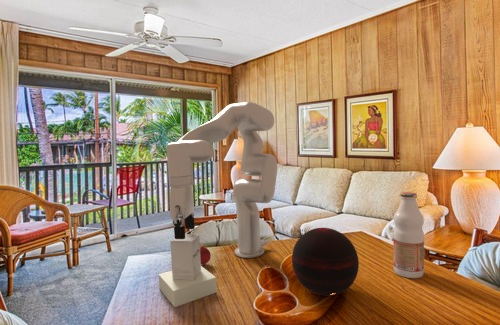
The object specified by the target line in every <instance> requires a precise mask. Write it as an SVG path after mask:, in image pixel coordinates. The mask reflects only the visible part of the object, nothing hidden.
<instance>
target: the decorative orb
mask: <svg viewBox="0 0 500 325" xmlns="http://www.w3.org/2000/svg"><path fill="white" fill-rule="evenodd" d="M294 244H295V245H294V246H293V250H292V254H291V265H292V270H293V272H294V275H295V277H296V279H297V280H298V281H299V283H300V284H301V285H302V286H303V287H304V288H305V289H307V290H308V291H309V292H311V293H314V294H316V295H319V296H325V297H329V295H330V294H332V293H336V294H337V295H339V294H342V293H344V292H345V291H347V290H348V289H349V288H350V287H351V286H352V285H353V283H354V282H355V280H356V278H357V277H358V274H359V265H360V263H359V256H358V252H357V250H356V248H355V246H354V244H353V243H352V241H350V239H349V238H348V237H347V236H346V235H345V234H343V233H342V232H341V231H338V230H336V229H334V228H330V227H317V228H313V229H310V230H308V231H306V232H305V233H303V234H302V235H301V236H300V237H299V239H297V240H296V242H295V243H294Z"/></svg>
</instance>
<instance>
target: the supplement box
mask: <svg viewBox="0 0 500 325" xmlns="http://www.w3.org/2000/svg"><path fill="white" fill-rule="evenodd" d="M200 239H201V238H200V234H199V233H198V234H197V233H185V239H175V237H174V238H173V239H172V240H170V259H171V271H172V279H178V280H194V279H195V277H196V276H197V274H198V273H199V272H200V271H201V266H202V264H201V259H200V248H201V242H200Z"/></svg>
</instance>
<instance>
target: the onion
mask: <svg viewBox="0 0 500 325" xmlns="http://www.w3.org/2000/svg"><path fill="white" fill-rule="evenodd" d="M211 258H212V256H211V251H210V250H209V249H208V248H207V247H206V246H204V245H203V244H200V259H201V266H205V265H206V264H207V263H209V262H210V260H211Z"/></svg>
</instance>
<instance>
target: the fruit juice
mask: <svg viewBox="0 0 500 325" xmlns="http://www.w3.org/2000/svg"><path fill="white" fill-rule="evenodd" d="M399 196H400V198H401V200H400V203H399V205H398V208H397V209H396V211H395V212H394V215H393V222H394V226H395V227H394V229H393V235H392V236H393V237H392V238H393V240H392V241H393V242H392V246H393V247H392V250H393V251H392V252H393V254H392V255H393V256H392V258H393V264H392V265H393V267H392V268H393V272H394V273H395V274H396V275H398V276H400V277H404V278H407V279H419V278H422V277H423V276H424V274H425V232H424V230H423V227H424V226H423V225H424V222H425V219H424V215H423V213H422V212H421V210H420V208H419V206H418V203H417V198H418V194H417V193H416V192H413V191H412V192H411V191H402V192H400V195H399Z"/></svg>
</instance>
